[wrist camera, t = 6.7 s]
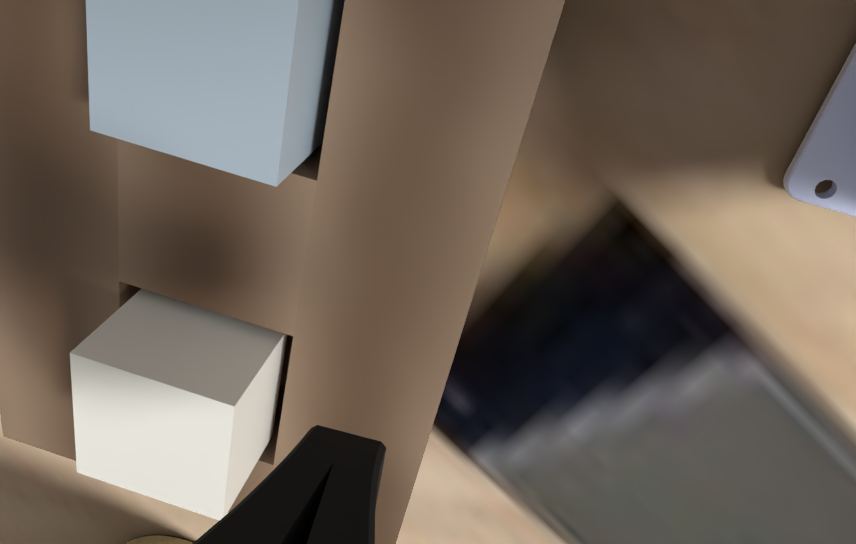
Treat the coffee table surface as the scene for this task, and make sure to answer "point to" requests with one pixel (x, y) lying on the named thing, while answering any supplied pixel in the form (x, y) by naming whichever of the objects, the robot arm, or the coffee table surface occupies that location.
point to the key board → (273, 222)
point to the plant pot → (158, 540)
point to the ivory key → (175, 401)
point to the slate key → (215, 79)
